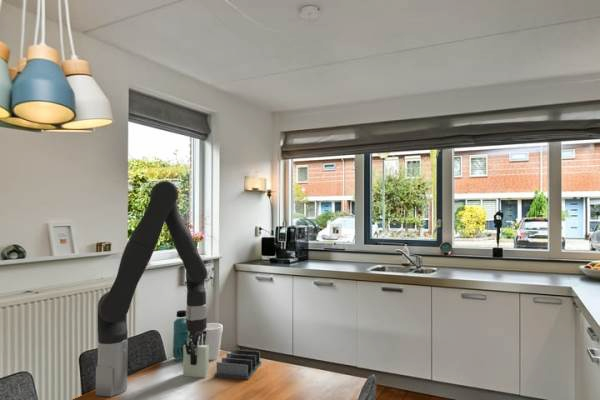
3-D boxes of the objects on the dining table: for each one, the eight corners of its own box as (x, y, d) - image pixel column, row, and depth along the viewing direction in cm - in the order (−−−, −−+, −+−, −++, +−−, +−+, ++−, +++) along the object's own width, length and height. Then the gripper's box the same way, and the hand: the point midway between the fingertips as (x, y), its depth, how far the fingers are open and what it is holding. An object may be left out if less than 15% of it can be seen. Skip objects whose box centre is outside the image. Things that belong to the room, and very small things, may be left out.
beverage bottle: (169, 360, 167) (169, 311, 168) (181, 355, 173) (181, 308, 174) (181, 363, 164) (181, 313, 165) (192, 358, 170) (193, 310, 171)
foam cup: (227, 356, 173) (227, 325, 173) (211, 363, 165) (211, 330, 165) (210, 352, 178) (211, 321, 178) (194, 358, 170) (195, 327, 170)
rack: (248, 379, 149) (248, 366, 149) (214, 376, 152) (214, 363, 152) (261, 363, 165) (261, 351, 165) (230, 360, 167) (230, 348, 168)
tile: (205, 377, 151) (205, 347, 151) (183, 375, 153) (183, 345, 153) (208, 374, 154) (208, 345, 154) (186, 372, 156) (186, 343, 156)
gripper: (195, 311, 161) (195, 355, 161) (177, 320, 148) (177, 369, 147) (213, 312, 160) (213, 356, 160) (197, 322, 146) (196, 370, 146)
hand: (196, 362), depth 153 cm, fingers open, 3 cm apart
